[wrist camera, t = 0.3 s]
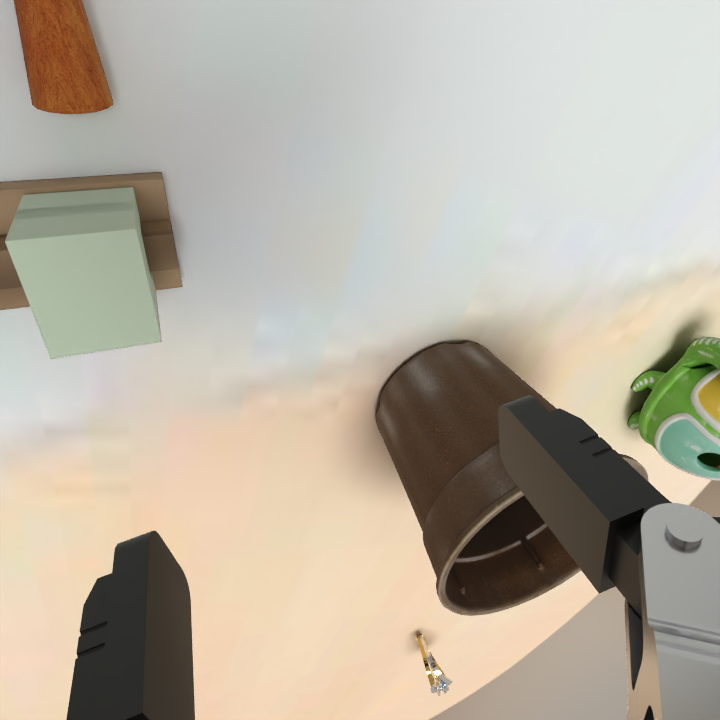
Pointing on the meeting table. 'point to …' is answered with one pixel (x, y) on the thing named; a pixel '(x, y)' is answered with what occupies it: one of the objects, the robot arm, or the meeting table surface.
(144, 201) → the rail
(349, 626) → the meeting table surface
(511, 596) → the plant pot
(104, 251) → the keeper
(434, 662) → the ring
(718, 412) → the turtle holder
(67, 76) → the kendama
